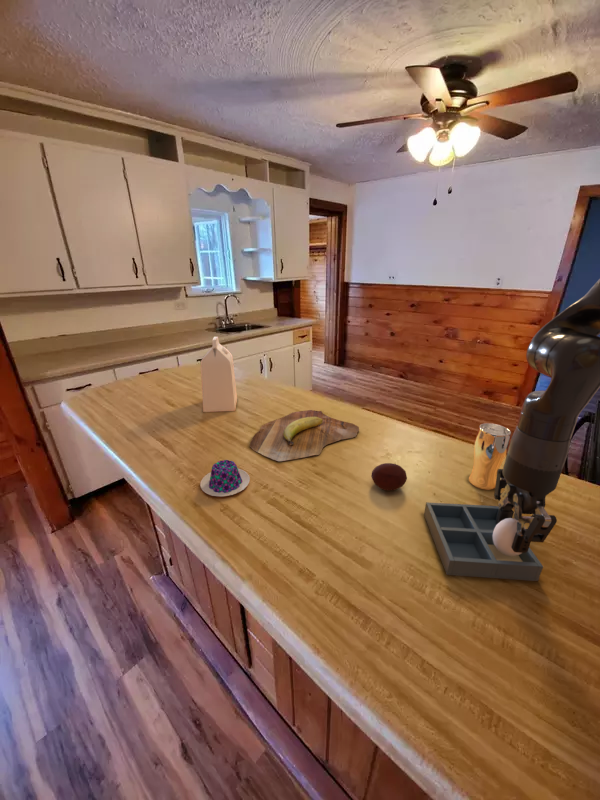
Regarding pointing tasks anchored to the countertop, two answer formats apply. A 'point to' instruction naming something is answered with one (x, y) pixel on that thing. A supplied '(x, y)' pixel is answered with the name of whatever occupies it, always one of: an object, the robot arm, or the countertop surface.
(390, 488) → the potato
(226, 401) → the milk
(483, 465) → the beer glass
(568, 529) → the countertop surface
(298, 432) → the cutting board
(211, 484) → the pudding
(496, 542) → the egg
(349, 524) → the countertop surface
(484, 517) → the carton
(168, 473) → the countertop surface
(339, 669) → the countertop surface
